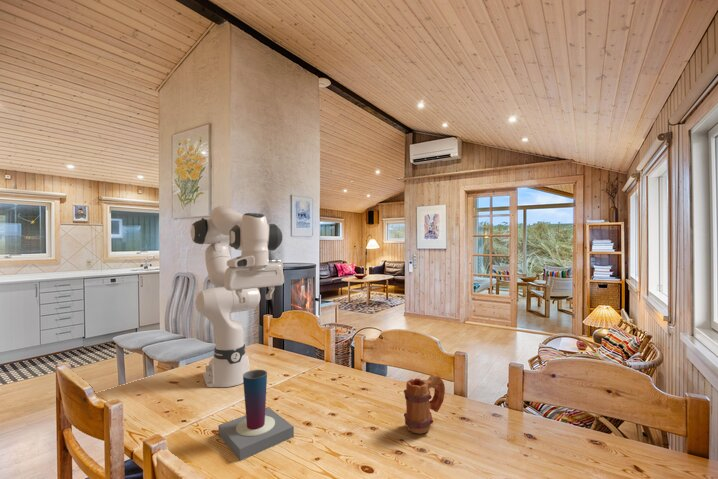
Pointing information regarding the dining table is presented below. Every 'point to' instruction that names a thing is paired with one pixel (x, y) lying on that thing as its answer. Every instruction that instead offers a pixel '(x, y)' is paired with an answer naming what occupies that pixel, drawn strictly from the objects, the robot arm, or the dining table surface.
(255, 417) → the cup
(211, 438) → the dining table surface
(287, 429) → the plinth
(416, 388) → the mug
